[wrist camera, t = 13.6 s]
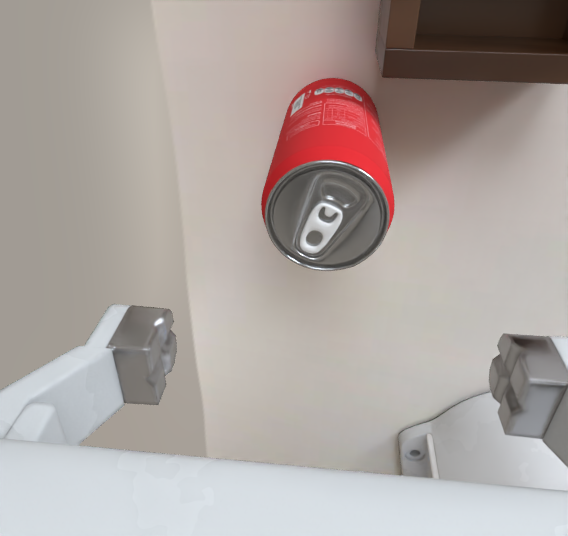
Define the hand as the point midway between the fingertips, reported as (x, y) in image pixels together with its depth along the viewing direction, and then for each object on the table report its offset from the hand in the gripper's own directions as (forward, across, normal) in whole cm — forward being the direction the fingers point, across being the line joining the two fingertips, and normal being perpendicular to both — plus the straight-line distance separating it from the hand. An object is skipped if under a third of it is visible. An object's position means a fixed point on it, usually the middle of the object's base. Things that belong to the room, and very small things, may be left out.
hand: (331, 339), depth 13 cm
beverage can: (+20, 0, +1) cm, 20 cm away
